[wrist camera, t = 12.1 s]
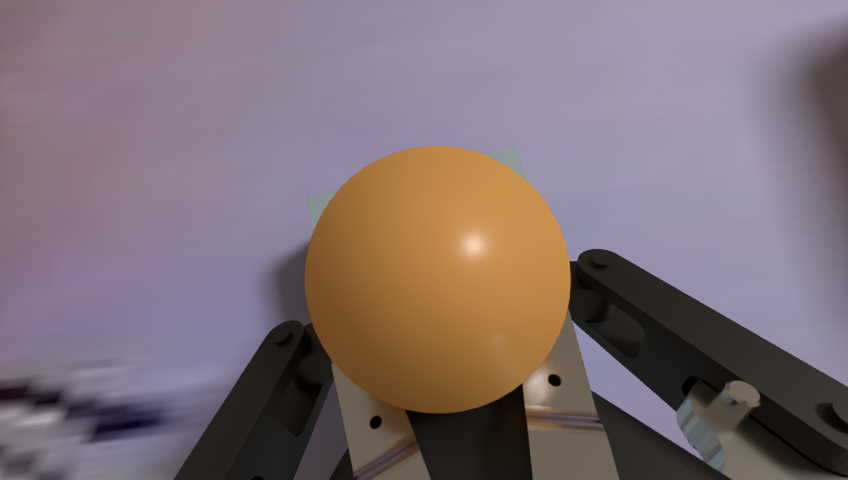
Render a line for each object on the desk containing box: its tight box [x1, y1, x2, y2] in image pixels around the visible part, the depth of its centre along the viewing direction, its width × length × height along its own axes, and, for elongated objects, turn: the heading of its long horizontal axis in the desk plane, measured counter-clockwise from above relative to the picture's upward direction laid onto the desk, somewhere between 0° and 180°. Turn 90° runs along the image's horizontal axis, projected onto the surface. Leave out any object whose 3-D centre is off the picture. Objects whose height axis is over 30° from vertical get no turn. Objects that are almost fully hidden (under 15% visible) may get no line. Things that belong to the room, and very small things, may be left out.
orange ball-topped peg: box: [305, 146, 571, 413], centre depth 13 cm, size 5×5×14 cm
